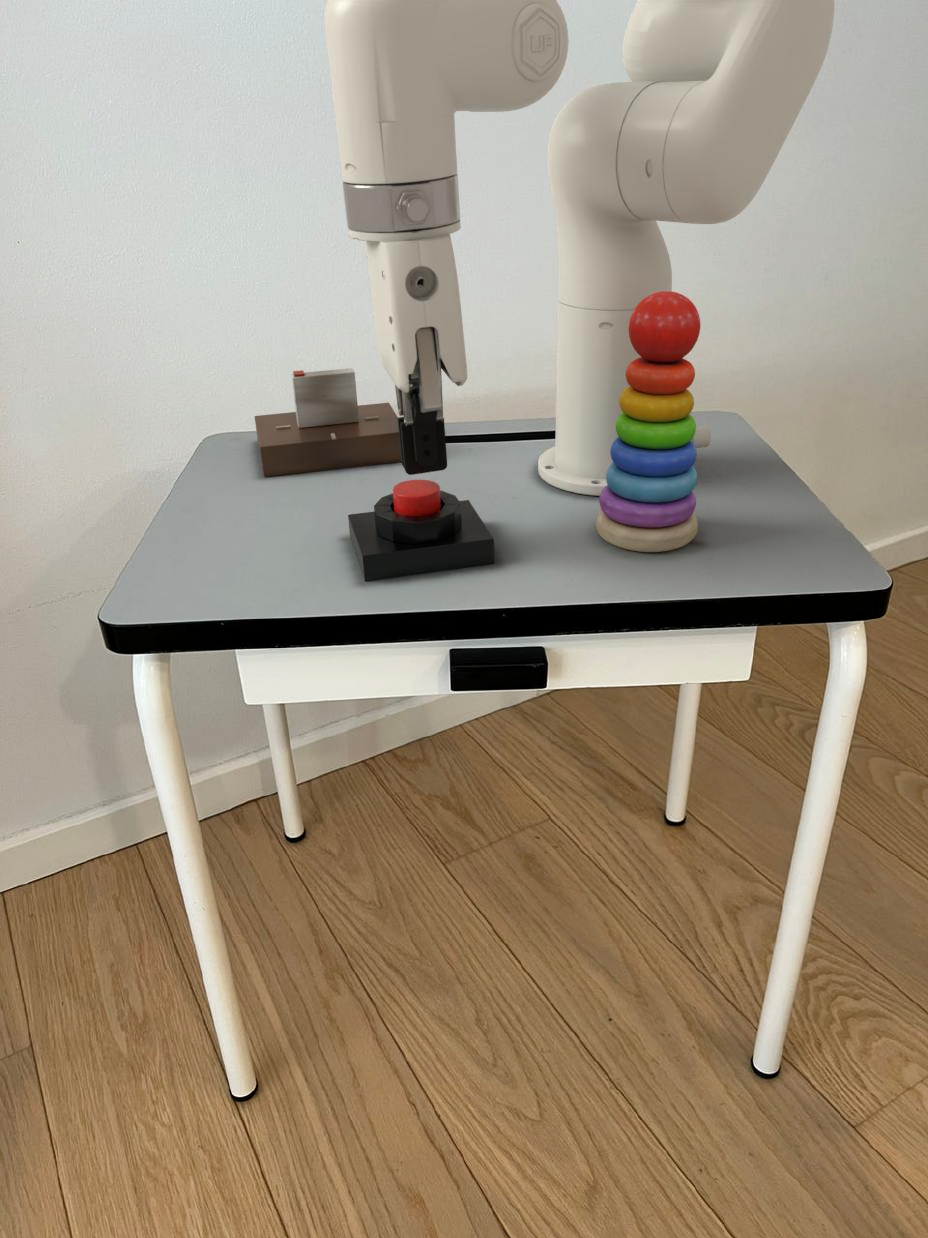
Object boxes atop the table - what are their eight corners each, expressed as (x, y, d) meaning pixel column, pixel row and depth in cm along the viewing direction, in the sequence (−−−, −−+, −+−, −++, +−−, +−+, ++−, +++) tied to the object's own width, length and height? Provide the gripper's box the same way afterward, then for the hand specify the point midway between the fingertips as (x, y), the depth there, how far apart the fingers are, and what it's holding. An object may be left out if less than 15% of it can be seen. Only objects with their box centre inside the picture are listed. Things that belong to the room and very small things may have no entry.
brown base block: (390, 429, 101) (388, 400, 99) (408, 461, 92) (406, 430, 91) (258, 443, 98) (254, 413, 97) (263, 477, 90) (259, 445, 88)
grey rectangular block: (356, 417, 95) (352, 365, 92) (359, 422, 94) (354, 369, 91) (297, 423, 94) (290, 370, 91) (298, 428, 93) (292, 375, 90)
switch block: (469, 524, 79) (467, 478, 77) (494, 564, 72) (493, 516, 70) (350, 539, 77) (345, 493, 75) (364, 582, 70) (360, 533, 68)
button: (435, 497, 75) (434, 476, 74) (445, 515, 72) (444, 493, 71) (390, 503, 74) (389, 482, 73) (398, 521, 71) (397, 499, 70)
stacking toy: (697, 560, 72) (723, 305, 62) (591, 553, 73) (602, 303, 64) (696, 518, 78) (720, 282, 69) (599, 513, 80) (610, 281, 71)
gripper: (486, 218, 57) (498, 499, 66) (434, 190, 69) (450, 430, 79) (363, 230, 55) (393, 515, 65) (332, 200, 68) (361, 442, 77)
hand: (424, 468), depth 72 cm, fingers closed
